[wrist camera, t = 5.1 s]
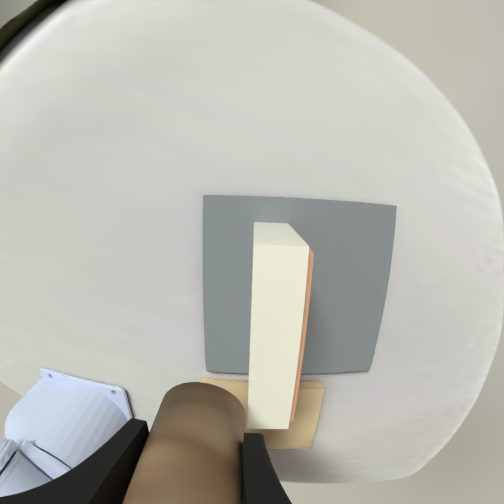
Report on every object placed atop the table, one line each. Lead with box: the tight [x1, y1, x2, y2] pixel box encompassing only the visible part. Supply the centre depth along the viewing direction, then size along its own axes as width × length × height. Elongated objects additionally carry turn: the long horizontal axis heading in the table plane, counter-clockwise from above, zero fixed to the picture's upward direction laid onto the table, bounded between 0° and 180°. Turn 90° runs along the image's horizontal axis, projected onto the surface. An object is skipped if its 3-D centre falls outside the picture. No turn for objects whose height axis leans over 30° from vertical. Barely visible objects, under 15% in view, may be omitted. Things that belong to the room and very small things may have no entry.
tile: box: [247, 222, 314, 429], centre depth 15 cm, size 2×9×7 cm, turn 178°
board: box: [200, 378, 325, 449], centre depth 21 cm, size 9×7×1 cm
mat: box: [203, 195, 396, 374], centre depth 19 cm, size 12×12×1 cm
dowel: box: [123, 382, 246, 504], centre depth 8 cm, size 4×4×7 cm
